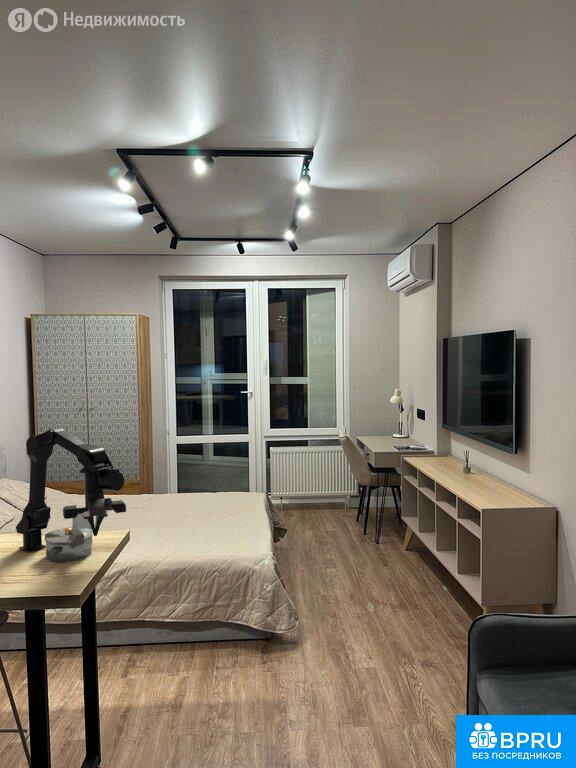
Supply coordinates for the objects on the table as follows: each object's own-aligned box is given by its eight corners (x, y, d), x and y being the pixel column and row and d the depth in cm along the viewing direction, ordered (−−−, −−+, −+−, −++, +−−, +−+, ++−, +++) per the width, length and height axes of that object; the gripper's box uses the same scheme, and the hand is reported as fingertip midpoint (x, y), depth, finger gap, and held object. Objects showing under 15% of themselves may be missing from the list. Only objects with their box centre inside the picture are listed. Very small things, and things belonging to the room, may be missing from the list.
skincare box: (75, 547, 199) (74, 512, 198) (72, 543, 202) (71, 509, 202) (93, 543, 202) (92, 509, 201) (90, 540, 206) (89, 507, 205)
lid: (40, 535, 192) (40, 523, 191) (85, 527, 200) (85, 516, 200) (55, 552, 174) (54, 539, 174) (103, 543, 182) (103, 530, 182)
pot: (59, 548, 198) (59, 530, 197) (98, 548, 196) (98, 531, 196) (28, 568, 178) (28, 549, 178) (71, 569, 177) (71, 550, 177)
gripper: (65, 496, 171) (66, 547, 172) (128, 489, 179) (129, 538, 180) (62, 488, 181) (63, 537, 182) (122, 482, 189) (123, 529, 190)
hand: (95, 535), depth 183 cm, fingers closed
